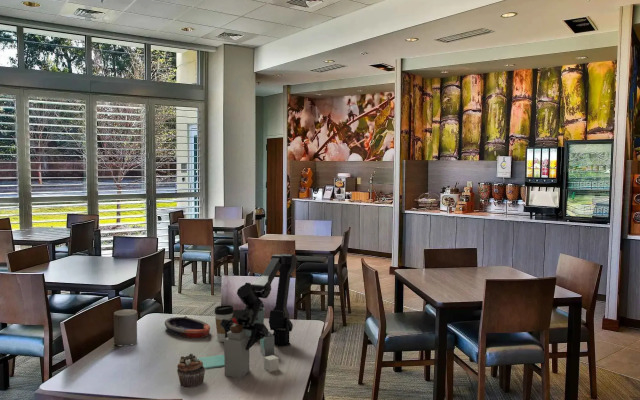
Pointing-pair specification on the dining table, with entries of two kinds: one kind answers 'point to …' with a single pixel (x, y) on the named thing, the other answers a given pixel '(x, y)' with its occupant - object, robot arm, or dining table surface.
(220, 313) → the coffee cup
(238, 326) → the perfume bottle
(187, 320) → the inflatable boat
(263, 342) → the napkin dispenser
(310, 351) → the dining table surface
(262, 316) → the drinking glass
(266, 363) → the grey block
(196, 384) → the cupcake
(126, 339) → the pillar candle
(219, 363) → the teal tile
